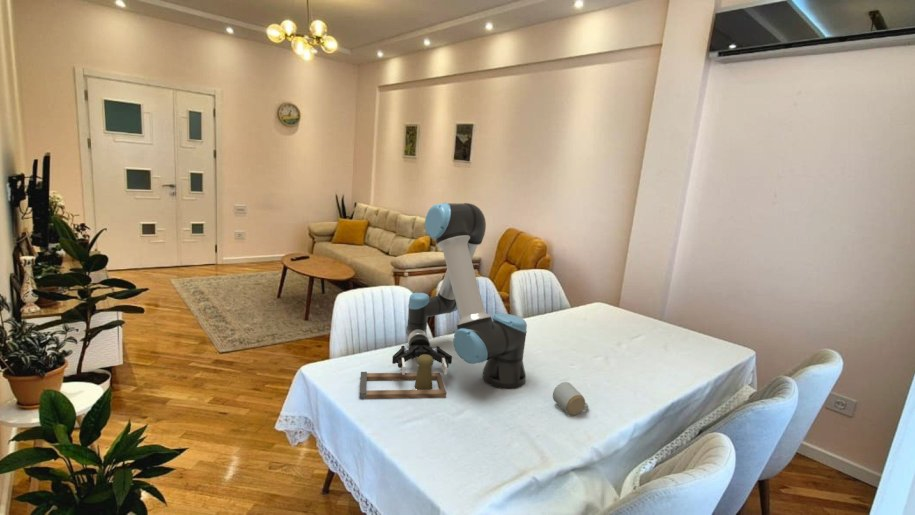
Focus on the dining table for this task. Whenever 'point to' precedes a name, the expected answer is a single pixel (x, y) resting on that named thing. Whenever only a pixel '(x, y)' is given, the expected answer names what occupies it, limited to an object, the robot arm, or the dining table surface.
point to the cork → (424, 373)
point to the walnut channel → (404, 393)
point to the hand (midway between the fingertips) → (424, 370)
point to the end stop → (363, 385)
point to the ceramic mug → (569, 398)
